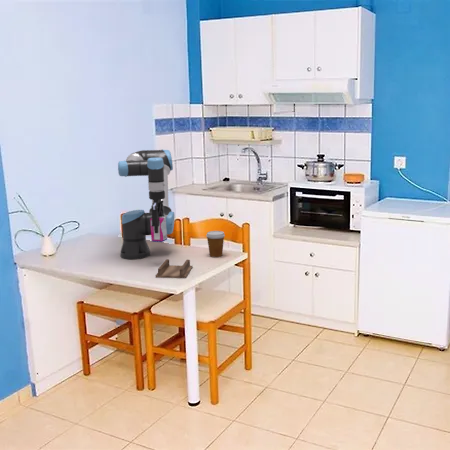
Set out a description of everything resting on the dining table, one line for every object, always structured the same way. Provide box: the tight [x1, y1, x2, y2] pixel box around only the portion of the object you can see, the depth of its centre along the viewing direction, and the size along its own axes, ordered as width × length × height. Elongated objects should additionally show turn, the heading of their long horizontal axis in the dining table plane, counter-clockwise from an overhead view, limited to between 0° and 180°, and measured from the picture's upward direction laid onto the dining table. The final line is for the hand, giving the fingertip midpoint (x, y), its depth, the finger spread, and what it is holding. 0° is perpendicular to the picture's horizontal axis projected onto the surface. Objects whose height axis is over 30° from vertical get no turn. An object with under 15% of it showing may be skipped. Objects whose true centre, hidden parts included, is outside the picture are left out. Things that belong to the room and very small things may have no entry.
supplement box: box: [150, 217, 168, 243], centre depth 272 cm, size 6×6×12 cm
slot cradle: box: [155, 258, 194, 279], centre depth 261 cm, size 14×16×4 cm
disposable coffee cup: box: [205, 230, 226, 258], centre depth 287 cm, size 10×10×12 cm
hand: (159, 237), depth 273 cm, fingers closed on supplement box, 7 cm apart
